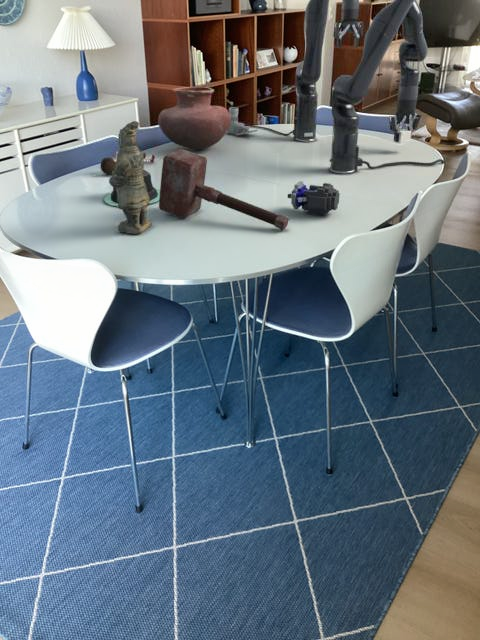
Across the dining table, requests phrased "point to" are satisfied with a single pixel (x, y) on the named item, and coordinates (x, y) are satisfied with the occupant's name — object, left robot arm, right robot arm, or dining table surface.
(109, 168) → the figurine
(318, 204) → the toy
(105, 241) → the dining table surface
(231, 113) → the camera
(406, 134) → the block
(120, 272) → the dining table surface
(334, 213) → the dining table surface
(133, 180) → the statue
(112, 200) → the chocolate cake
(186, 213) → the sledgehammer
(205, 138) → the clay pot
